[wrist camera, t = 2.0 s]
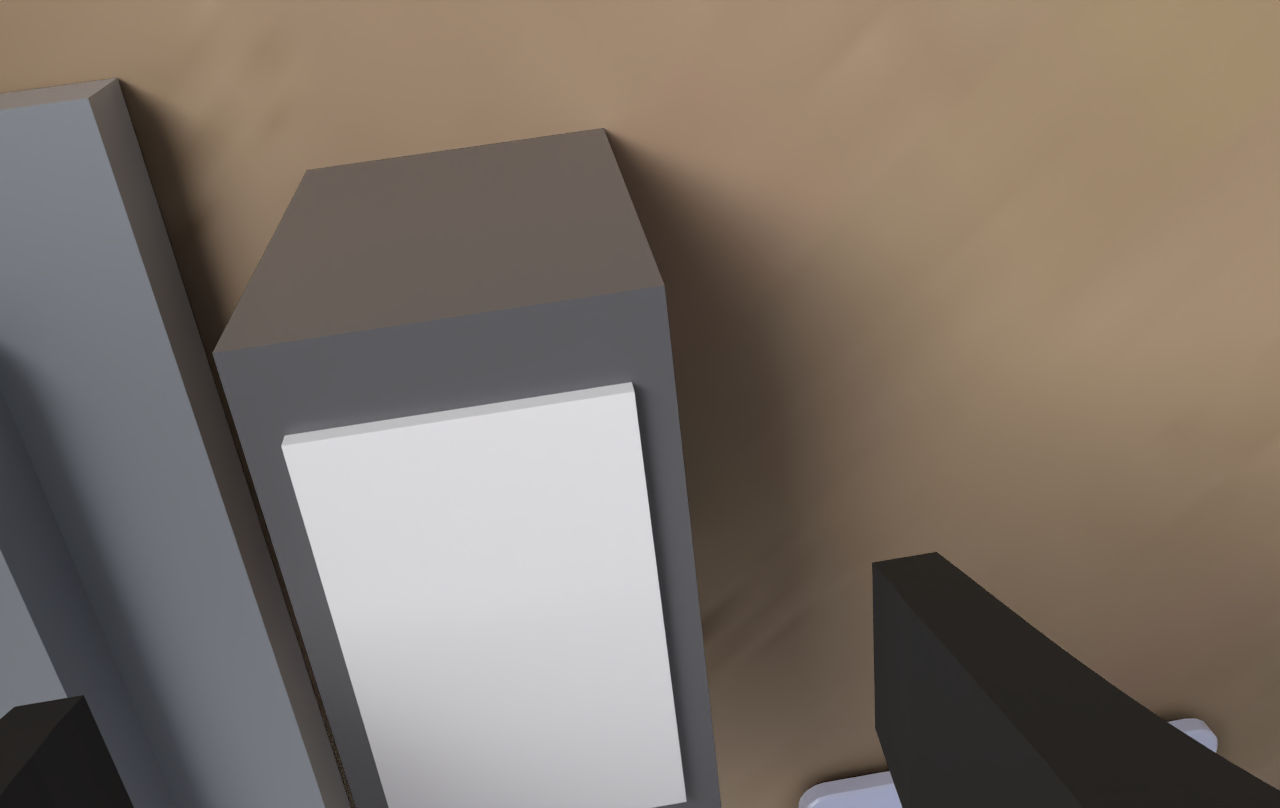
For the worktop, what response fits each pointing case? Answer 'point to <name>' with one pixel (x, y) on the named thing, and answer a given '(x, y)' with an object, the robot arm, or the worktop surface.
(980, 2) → the worktop surface
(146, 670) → the drive tray
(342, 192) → the block
